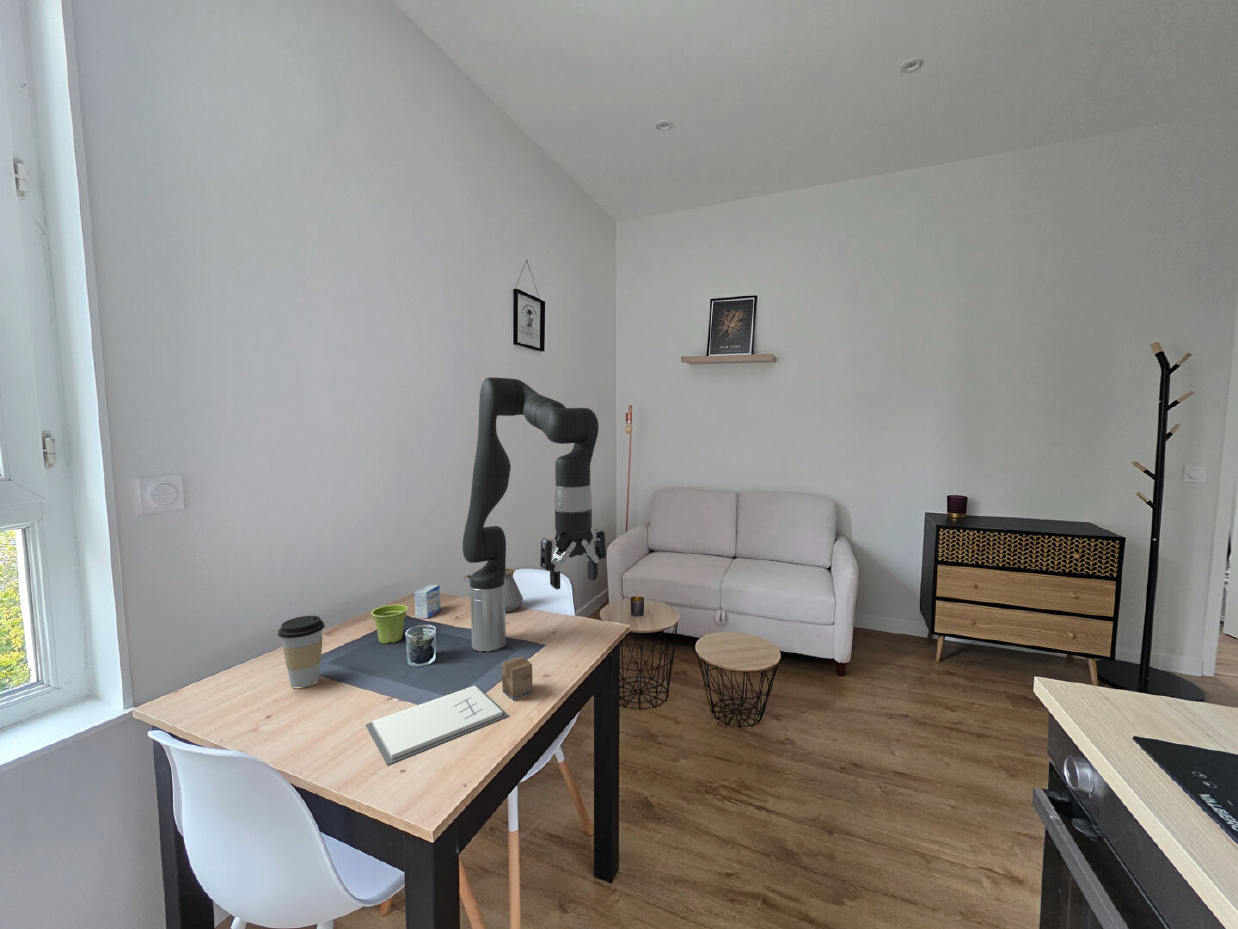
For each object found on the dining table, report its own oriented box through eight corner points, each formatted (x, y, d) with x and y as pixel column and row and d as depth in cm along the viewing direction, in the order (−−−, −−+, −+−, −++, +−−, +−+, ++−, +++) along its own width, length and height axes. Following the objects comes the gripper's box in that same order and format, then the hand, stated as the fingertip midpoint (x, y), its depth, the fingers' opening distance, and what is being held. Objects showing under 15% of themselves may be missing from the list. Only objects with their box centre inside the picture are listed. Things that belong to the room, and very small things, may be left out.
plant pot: (391, 630, 151) (390, 602, 151) (415, 635, 148) (414, 606, 147) (365, 643, 143) (363, 613, 142) (390, 648, 139) (388, 618, 138)
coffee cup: (336, 677, 123) (333, 617, 122) (297, 696, 114) (293, 632, 113) (311, 670, 127) (307, 612, 126) (271, 687, 118) (268, 625, 117)
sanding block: (502, 692, 116) (501, 662, 115) (522, 685, 119) (521, 656, 118) (512, 701, 112) (512, 670, 111) (532, 693, 115) (532, 663, 115)
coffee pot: (507, 600, 177) (506, 558, 176) (530, 607, 170) (529, 563, 169) (455, 619, 160) (454, 572, 159) (478, 627, 153) (476, 579, 152)
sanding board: (365, 725, 103) (365, 720, 103) (477, 686, 118) (477, 682, 118) (387, 765, 91) (387, 760, 91) (508, 716, 106) (508, 711, 106)
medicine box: (427, 619, 160) (426, 592, 160) (414, 618, 161) (413, 591, 161) (441, 610, 168) (440, 585, 167) (428, 609, 169) (428, 584, 168)
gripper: (592, 500, 109) (593, 572, 111) (533, 508, 101) (535, 586, 103) (612, 505, 103) (613, 581, 105) (550, 514, 95) (552, 597, 97)
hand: (574, 583), depth 104 cm, fingers open, 8 cm apart
